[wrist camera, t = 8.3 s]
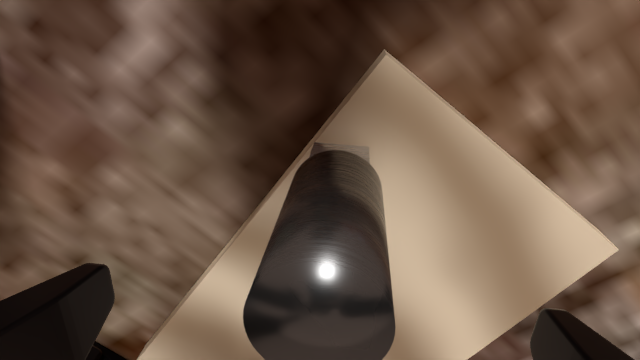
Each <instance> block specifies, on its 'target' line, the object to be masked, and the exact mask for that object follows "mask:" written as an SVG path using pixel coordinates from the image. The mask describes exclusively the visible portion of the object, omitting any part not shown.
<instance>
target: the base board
mask: <svg viewBox="0 0 640 360" xmlns="http://www.w3.org/2000/svg"><path fill="white" fill-rule="evenodd" d="M314 142H319V143H331V144H343V145H354V146H366V147H369V157H370V165H371V166H372V167H373V168H374V169H375V171H376V172H377V174H378V176H379V178H380V181H381V185H382V193H383V204H384V214H385V224H386V234H387V244H388V254H389V264H390V275H391V285H392V295H393V305H394V315H395V326H396V328H395V337H394V340H393V343H392V346H391V348H390V350H389V351H388V353H387V354H386V356H385V357H384V358H383V359H382V360H467V359H469V358H470V357H471V356H473V355H474V354H476V353H477V352H478V351H480V350H481V349H482V348H484V347H485V346H487V345H488V344H489V343H491V342H492V341H493V340H495V339H496V338H498V337H499V336H500V335H502V334H503V333H505V332H506V331H507V330H509V329H510V328H511V327H513V326H514V325H516V324H517V323H518V322H520V321H521V320H523V319H524V318H525V317H527V316H528V315H529V314H531V313H532V312H534V311H535V310H536V309H538V308H539V307H540V306H542V305H543V304H545V303H546V302H547V301H549V300H550V299H552V298H553V297H554V296H556V295H557V294H558V293H560V292H561V291H563V290H564V289H565V288H567V287H568V286H569V285H571V284H572V283H574V282H575V281H576V280H578V279H579V278H581V277H582V276H583V275H585V274H586V273H587V272H589V271H590V270H592V269H593V268H594V267H596V266H597V265H599V264H600V263H601V262H603V261H604V260H605V259H607V258H608V257H610V256H611V255H612V254H614V253H615V252H616V251H618V250H619V249H618V248H617V247H616V246H615V245H614V244H613V243H611V242H610V241H609V240H608V239H607V238H606V237H605V236H604V235H603V234H602V233H601V232H600V231H599V230H598V229H597V228H596V227H595V226H594V225H592V224H591V223H590V222H589V221H588V220H586V219H585V218H584V217H583V216H582V215H580V214H579V213H578V212H577V211H576V210H574V209H573V208H572V207H571V206H570V205H569V204H567V203H566V202H565V201H564V200H563V199H561V198H560V197H559V196H558V195H557V194H555V193H554V192H553V191H552V190H551V189H550V188H548V187H547V186H546V185H545V184H544V183H542V182H541V181H540V180H539V179H538V178H536V177H535V176H534V175H533V174H532V173H531V172H529V171H528V170H527V169H526V168H525V167H523V166H522V165H521V164H520V163H519V162H517V161H516V160H515V159H514V158H513V157H512V156H510V155H509V154H508V153H507V152H506V151H504V150H503V149H502V148H501V147H500V146H498V145H497V144H496V143H495V142H494V141H492V140H491V139H490V138H489V137H488V136H487V135H485V134H484V133H483V132H482V131H481V130H479V129H478V128H477V127H476V126H475V125H473V124H472V123H471V122H470V121H469V120H468V119H466V118H465V117H464V116H463V115H462V114H460V113H459V112H458V111H457V110H456V109H454V108H453V107H452V106H451V105H450V104H449V103H447V102H446V101H445V100H444V99H443V98H441V97H440V96H439V95H438V94H437V93H435V92H434V91H433V90H432V89H431V88H430V87H428V86H427V85H426V84H425V83H424V82H422V81H421V80H420V79H419V78H418V77H416V76H415V75H414V74H413V73H412V72H411V71H409V70H408V69H407V68H406V67H405V66H403V65H402V64H401V63H400V62H399V61H397V60H396V59H395V58H394V57H393V56H391V55H390V54H389V53H388V52H387V51H386V50H383V51H382V53H381V54H380V55H379V56H378V58H377V59H376V60H375V61H374V63H373V64H372V65H371V66H370V68H369V69H368V70H367V71H366V72H365V74H364V75H363V76H362V77H361V79H360V80H359V81H358V82H357V84H356V85H355V86H354V87H353V89H352V90H351V91H350V92H349V94H348V95H347V96H346V97H345V98H344V100H343V101H342V102H341V103H340V105H339V106H338V107H337V108H336V110H335V111H334V112H333V113H332V115H331V116H330V117H329V118H328V120H327V121H326V122H325V123H324V125H323V126H322V127H321V128H320V129H319V131H318V132H317V133H316V134H315V136H314V137H313V138H312V139H311V141H310V142H309V143H308V144H307V146H306V147H305V148H304V149H303V151H302V152H301V153H300V154H299V155H298V157H297V158H296V159H295V160H294V162H293V163H292V164H291V165H290V167H289V168H288V169H287V170H286V172H285V173H284V174H283V175H282V177H281V178H280V179H279V180H278V182H277V183H276V184H275V185H274V186H273V188H272V189H271V190H270V191H269V193H268V194H267V195H266V196H265V198H264V199H263V200H262V201H261V203H260V204H259V205H258V206H257V208H256V209H255V210H254V211H253V213H252V214H251V215H250V216H249V217H248V219H247V220H246V221H245V222H244V224H243V225H242V226H241V227H240V229H239V230H238V231H237V232H236V234H235V235H234V236H233V237H232V239H231V240H230V241H229V242H228V243H227V245H226V246H225V247H224V248H223V250H222V251H221V252H220V253H219V255H218V256H217V257H216V258H215V260H214V261H213V262H212V263H211V265H210V266H209V267H208V268H207V270H206V271H205V272H204V273H203V274H202V276H201V277H200V278H199V279H198V281H197V282H196V283H195V284H194V286H193V287H192V288H191V289H190V291H189V292H188V293H187V294H186V296H185V297H184V298H183V299H182V301H181V302H180V303H179V304H178V305H177V307H176V308H175V309H174V310H173V312H172V313H171V314H170V315H169V317H168V318H167V319H166V320H165V322H164V323H163V324H162V325H161V327H160V328H159V329H158V330H157V331H156V333H155V334H154V335H153V336H152V338H151V339H150V340H149V341H148V343H147V344H146V346H145V347H144V349H143V350H142V352H141V354H140V355H139V357H138V358H137V360H265V359H264V358H263V357H262V356H261V355H260V354H259V353H258V352H257V351H256V350H255V348H254V347H253V346H252V344H251V342H250V341H249V339H248V337H247V334H246V332H245V328H244V323H243V309H244V305H245V301H246V299H247V296H248V294H249V291H250V289H251V286H252V283H253V281H254V278H255V276H256V273H257V270H258V268H259V265H260V263H261V260H262V257H263V255H264V252H265V250H266V247H267V245H268V242H269V239H270V237H271V234H272V232H273V229H274V226H275V224H276V221H277V219H278V216H279V213H280V211H281V208H282V206H283V203H284V201H285V198H286V195H287V193H288V190H289V188H290V185H291V182H292V180H293V177H294V175H295V173H296V171H297V169H298V168H299V167H300V165H301V164H302V163H303V162H304V161H305V160H307V159H308V158H309V156H310V153H311V150H312V147H313V144H314Z"/></svg>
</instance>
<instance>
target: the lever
mask: <svg viewBox="0 0 640 360" xmlns="http://www.w3.org/2000/svg"><path fill="white" fill-rule="evenodd" d="M243 323H244V328H245V332H246V334H247V337H248V339H249V341H250V342H251V344H252V346H253V347H254V348H255V350H256V351H257V352H258V353H259V354H260V355H261V356H262V357H263V358H264V359H265V360H382V359H383V358H384V357H385V356H386V354H387V353H388V351H389V350H390V348H391V346H392V343H393V340H394V337H395V328H396V326H395V315H394V305H393V295H392V285H391V275H390V264H389V254H388V244H387V234H386V224H385V214H384V204H383V193H382V185H381V181H380V178H379V176H378V174H377V172H376V171H375V169H374V168H373V167H372V166H371V165H370V157H369V147H366V146H354V145H343V144H331V143H319V142H314V144H313V147H312V150H311V153H310V156H309V158H308V159H307V160H305V161H304V162H303V163H302V164H301V165H300V167H299V168H298V169H297V171H296V173H295V175H294V177H293V180H292V182H291V185H290V188H289V190H288V193H287V195H286V198H285V201H284V203H283V206H282V208H281V211H280V213H279V216H278V219H277V221H276V224H275V226H274V229H273V232H272V234H271V237H270V239H269V242H268V245H267V247H266V250H265V252H264V255H263V257H262V260H261V263H260V265H259V268H258V270H257V273H256V276H255V278H254V281H253V283H252V286H251V289H250V291H249V294H248V296H247V299H246V301H245V305H244V309H243Z"/></svg>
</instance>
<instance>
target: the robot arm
mask: <svg viewBox="0 0 640 360" xmlns="http://www.w3.org/2000/svg"><path fill="white" fill-rule="evenodd" d="M114 299H115V295H114V289H113V285H112V280H111V275H110V271H109V268H108V267H107V266H106V265H104V264H95V263H86V264H83V265H81V266H79V267H77V268H74V269H72V270H70V271H67V272H65V273H63V274H61V275H58V276H56V277H54V278H52V279H49V280H47V281H45V282H42V283H40V284H38V285H36V286H33V287H31V288H29V289H27V290H24V291H22V292H20V293H17V294H15V295H13V296H11V297H8V298H6V299H4V300H2V301H0V360H125V359H123V358H122V357H120V356H118V355H116V354H115V353H113V352H111V351H110V350H108V349H106V348H104V347H103V346H101V345H99V344H97V343H96V342H95V340H96V338H97V336H98V334H99V332H100V330H101V328H102V326H103V324H104V322H105V320H106V318H107V316H108V315H109V313H110V311H111V309H112V306H113V304H114ZM530 348H531V353H532V357H533V360H634V359H633V358H631V357H630V356H629V355H627V354H626V353H624V352H623V351H622V350H620V349H619V348H617V347H616V346H615V345H613V344H612V343H611V342H609V341H608V340H606V339H605V338H604V337H602V336H601V335H599V334H598V333H597V332H595V331H594V330H592V329H591V328H590V327H588V326H587V325H586V324H584V323H583V322H581V321H580V320H579V319H577V318H576V317H574V316H573V315H572V314H570V313H569V312H567V311H565V310H562V309H552V308H544V309H542V310H541V311H540V313H539V316H538V319H537V321H536V324H535V327H534V330H533V333H532V336H531V341H530Z"/></svg>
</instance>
